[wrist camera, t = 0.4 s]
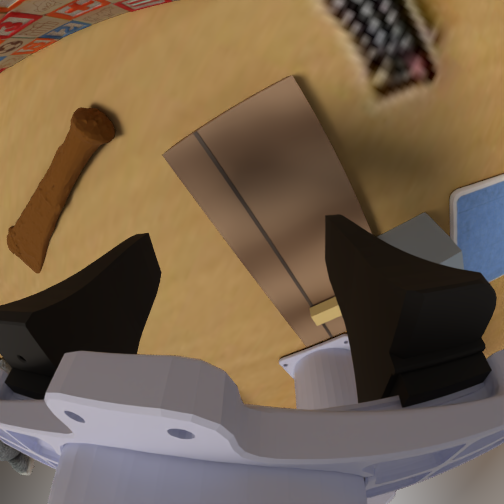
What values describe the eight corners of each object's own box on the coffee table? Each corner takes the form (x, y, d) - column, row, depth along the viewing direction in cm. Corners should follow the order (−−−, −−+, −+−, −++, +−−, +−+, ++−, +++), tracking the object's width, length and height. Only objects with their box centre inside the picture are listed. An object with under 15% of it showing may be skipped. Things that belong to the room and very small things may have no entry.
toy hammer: (433, 247, 23) (465, 289, 18) (317, 304, 27) (327, 356, 22) (424, 211, 21) (462, 250, 16) (298, 274, 25) (306, 327, 20)
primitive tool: (40, 272, 26) (24, 293, 23) (7, 241, 24) (-11, 259, 21) (127, 128, 19) (105, 137, 16) (80, 86, 17) (53, 90, 14)
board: (389, 288, 25) (398, 307, 23) (303, 327, 28) (306, 347, 26) (287, 76, 16) (292, 75, 14) (172, 145, 19) (161, 155, 17)
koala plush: (-19, 354, 39) (-54, 424, 22) (10, 346, 34) (-36, 439, 18) (36, 404, 47) (11, 472, 31) (77, 406, 43) (50, 493, 26)
